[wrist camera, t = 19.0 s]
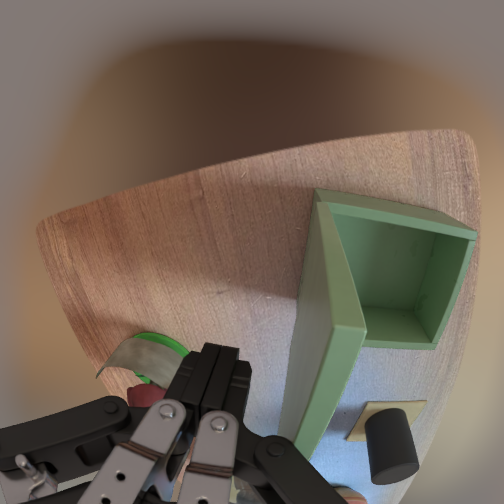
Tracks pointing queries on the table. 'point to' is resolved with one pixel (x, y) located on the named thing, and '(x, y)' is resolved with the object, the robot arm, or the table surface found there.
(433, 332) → the green open box
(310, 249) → the box lid
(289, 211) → the table surface
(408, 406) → the mat
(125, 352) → the mushroom figurine
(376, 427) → the dark grey cylinder
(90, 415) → the robot arm
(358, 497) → the vase
